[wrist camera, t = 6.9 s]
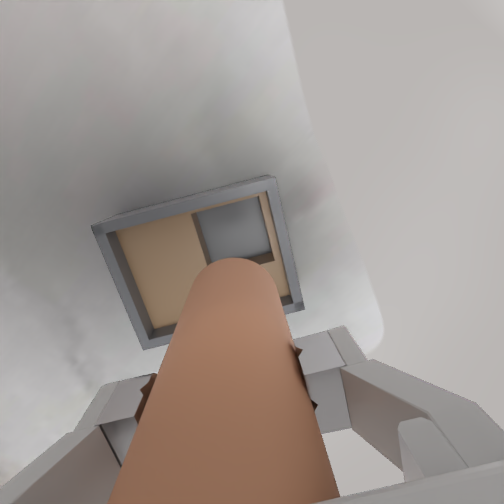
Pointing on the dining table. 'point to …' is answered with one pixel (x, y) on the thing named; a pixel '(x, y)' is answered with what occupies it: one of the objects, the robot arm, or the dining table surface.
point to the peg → (228, 405)
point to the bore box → (194, 250)
